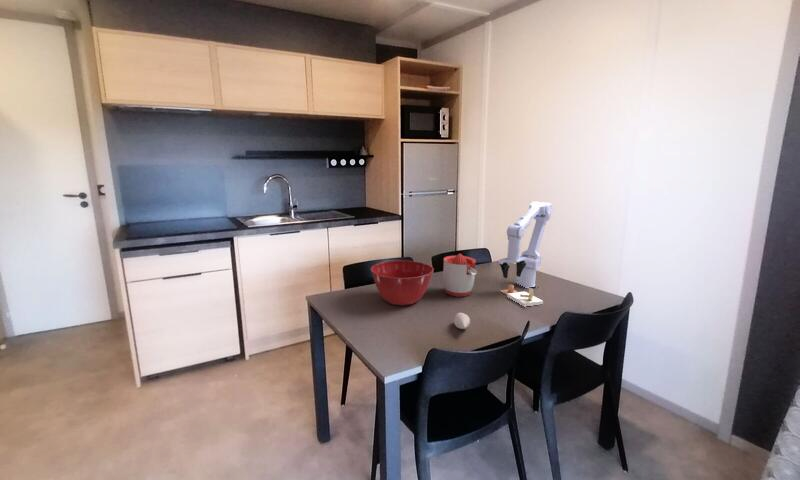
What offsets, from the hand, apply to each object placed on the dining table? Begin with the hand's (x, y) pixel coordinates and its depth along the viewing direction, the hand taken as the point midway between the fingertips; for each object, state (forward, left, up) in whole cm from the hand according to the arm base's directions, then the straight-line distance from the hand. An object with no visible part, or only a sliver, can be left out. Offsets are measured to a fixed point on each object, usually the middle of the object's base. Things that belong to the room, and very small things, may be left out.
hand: (511, 276), depth 188 cm
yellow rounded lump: (+14, -2, -6) cm, 16 cm away
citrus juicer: (-7, -25, -9) cm, 27 cm away
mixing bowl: (-7, -55, -9) cm, 56 cm away
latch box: (+11, 0, -8) cm, 14 cm away
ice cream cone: (+29, -43, -9) cm, 52 cm away
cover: (0, 0, -9) cm, 9 cm away
